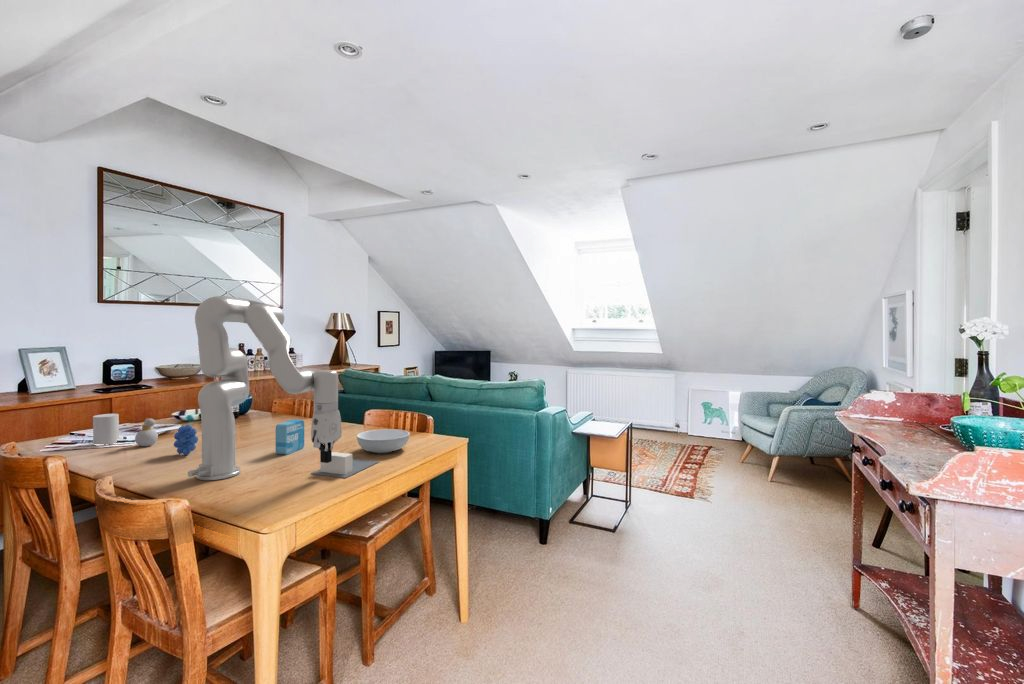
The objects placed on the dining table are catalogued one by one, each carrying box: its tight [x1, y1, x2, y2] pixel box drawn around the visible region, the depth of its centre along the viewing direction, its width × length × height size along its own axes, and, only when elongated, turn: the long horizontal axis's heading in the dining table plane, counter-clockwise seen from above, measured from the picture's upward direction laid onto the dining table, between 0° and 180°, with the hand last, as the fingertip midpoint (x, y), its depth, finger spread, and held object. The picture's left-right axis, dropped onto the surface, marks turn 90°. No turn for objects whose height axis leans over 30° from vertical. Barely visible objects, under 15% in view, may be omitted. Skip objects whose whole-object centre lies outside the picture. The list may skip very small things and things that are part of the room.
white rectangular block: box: [319, 451, 353, 475], centre depth 160 cm, size 4×10×6 cm, turn 73°
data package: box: [275, 418, 305, 456], centre depth 186 cm, size 12×4×12 cm, turn 170°
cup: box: [92, 413, 120, 445], centre depth 194 cm, size 8×8×12 cm
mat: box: [310, 457, 381, 479], centre depth 166 cm, size 20×14×1 cm
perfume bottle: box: [134, 417, 159, 447], centre depth 192 cm, size 8×10×12 cm
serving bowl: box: [356, 428, 411, 454], centre depth 190 cm, size 21×21×7 cm
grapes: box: [173, 424, 199, 456], centre depth 180 cm, size 12×7×12 cm, turn 71°
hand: (325, 461), depth 155 cm, fingers closed
